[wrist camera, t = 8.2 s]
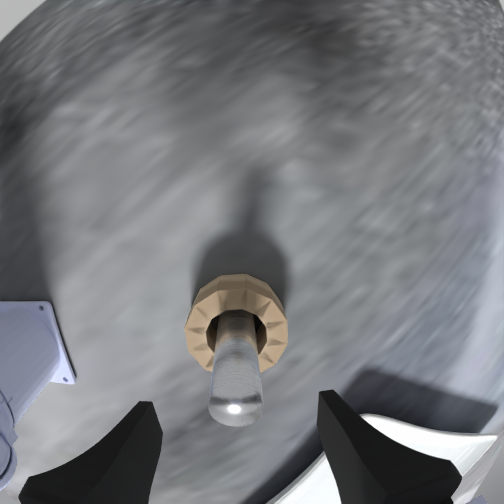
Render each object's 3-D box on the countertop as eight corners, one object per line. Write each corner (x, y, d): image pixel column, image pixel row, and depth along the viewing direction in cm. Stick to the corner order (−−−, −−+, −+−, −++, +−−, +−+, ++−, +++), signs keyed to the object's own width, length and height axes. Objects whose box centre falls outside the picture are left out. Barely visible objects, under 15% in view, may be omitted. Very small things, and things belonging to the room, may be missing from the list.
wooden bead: (198, 357, 23) (194, 379, 20) (186, 277, 21) (178, 293, 18) (282, 350, 23) (288, 373, 20) (279, 270, 21) (285, 285, 18)
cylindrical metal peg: (224, 331, 22) (216, 429, 13) (215, 302, 22) (201, 392, 12) (256, 325, 22) (268, 421, 13) (249, 295, 22) (257, 382, 12)
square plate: (350, 387, 25) (364, 415, 21) (488, 421, 28) (502, 436, 25) (225, 518, 30) (225, 540, 26) (373, 527, 33) (379, 543, 30)
